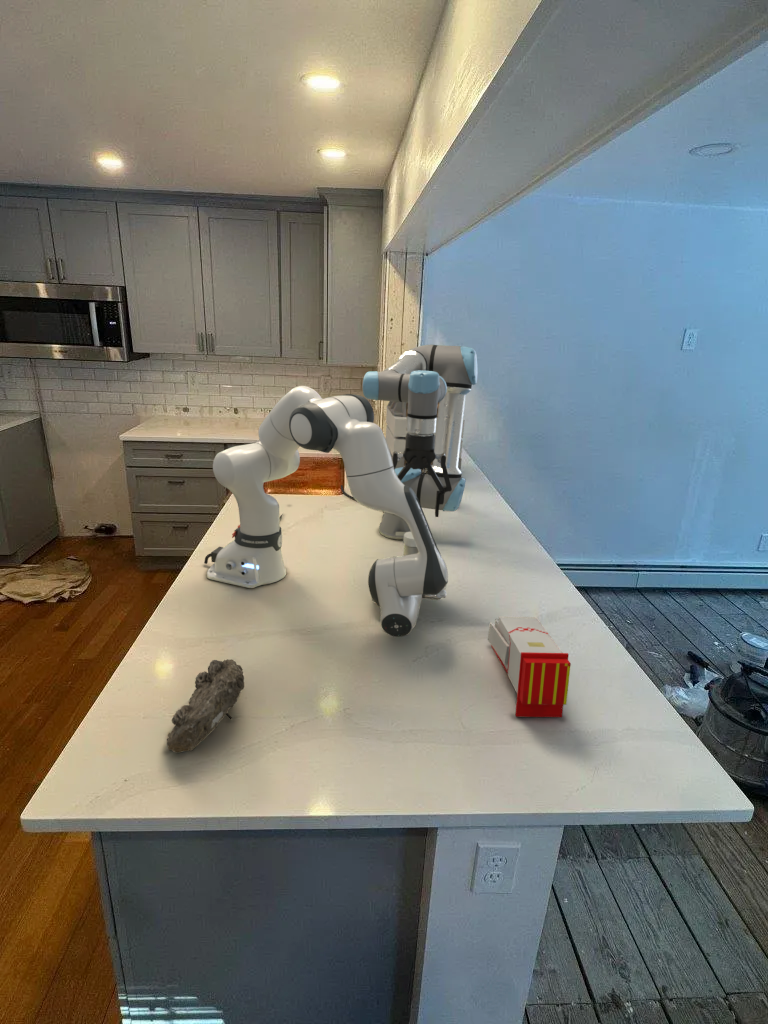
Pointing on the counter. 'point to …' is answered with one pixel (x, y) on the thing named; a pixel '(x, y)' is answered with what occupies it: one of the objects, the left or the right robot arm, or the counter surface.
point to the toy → (531, 665)
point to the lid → (409, 540)
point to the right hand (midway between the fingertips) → (415, 514)
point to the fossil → (206, 705)
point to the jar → (410, 550)
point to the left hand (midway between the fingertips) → (411, 571)
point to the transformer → (403, 430)
